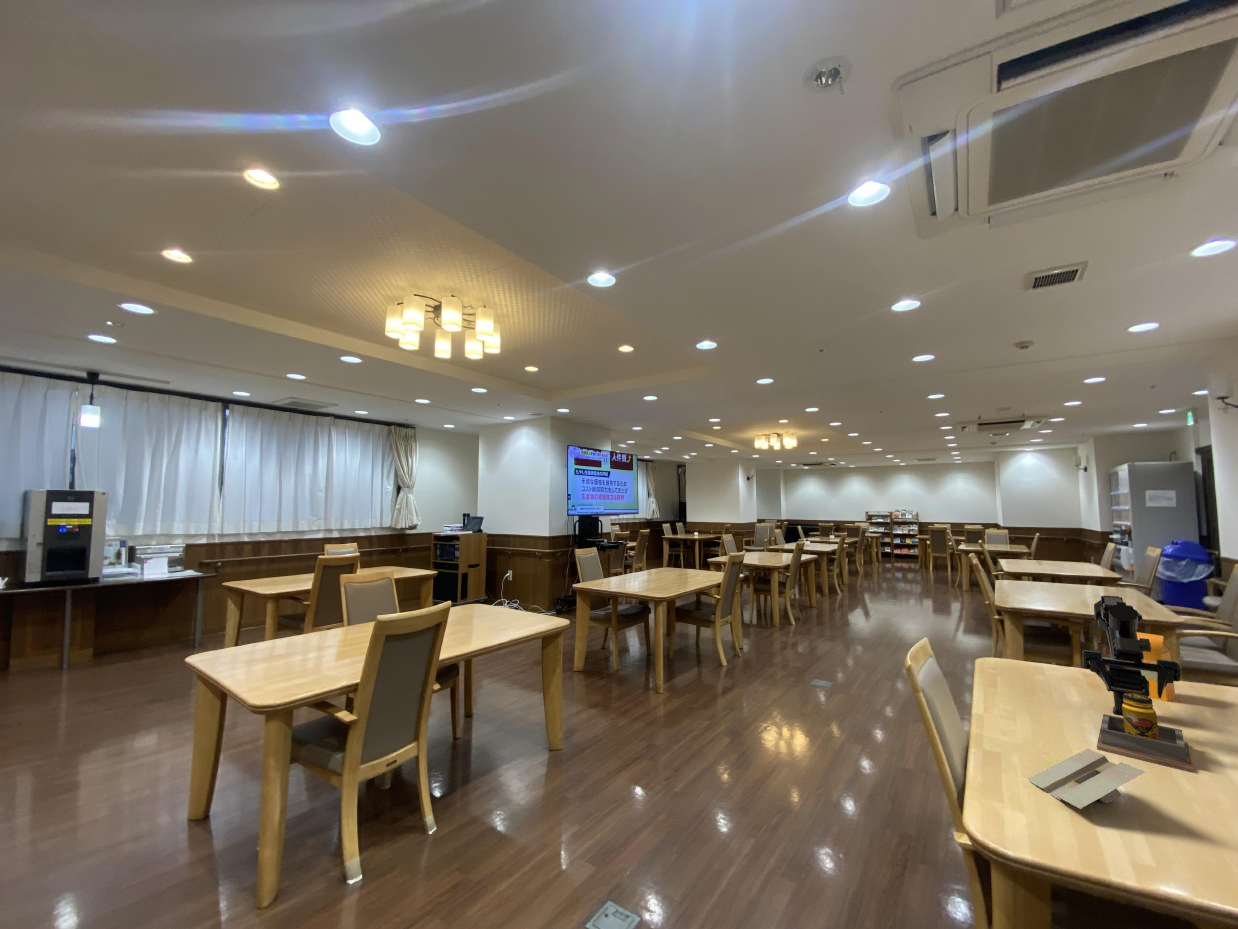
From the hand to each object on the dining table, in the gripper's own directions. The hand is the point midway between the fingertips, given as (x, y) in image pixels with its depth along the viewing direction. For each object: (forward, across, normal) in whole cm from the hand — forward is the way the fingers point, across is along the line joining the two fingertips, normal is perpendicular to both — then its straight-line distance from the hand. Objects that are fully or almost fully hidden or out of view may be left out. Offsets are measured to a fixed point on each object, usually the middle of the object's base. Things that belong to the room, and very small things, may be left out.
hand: (1134, 693), depth 131 cm
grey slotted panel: (+42, -13, -25) cm, 50 cm away
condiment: (+12, 0, +4) cm, 12 cm away
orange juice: (-27, +8, +44) cm, 52 cm away
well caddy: (+12, 0, +4) cm, 13 cm away
